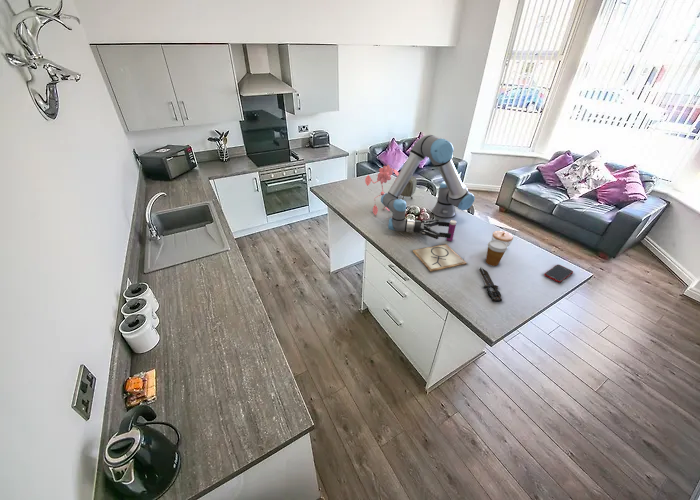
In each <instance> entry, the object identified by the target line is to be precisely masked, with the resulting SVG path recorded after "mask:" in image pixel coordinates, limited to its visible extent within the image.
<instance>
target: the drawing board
mask: <svg viewBox="0 0 700 500" xmlns="http://www.w3.org/2000/svg"><path fill="white" fill-rule="evenodd" d="M412 253H413V254H414V255H415V256H416V258H417V259H418V260H419V261H420V262H421V263H422V265H424V266H425V267H426V269H427V270H428V271H429V272H430V273H432V272H437V271H442V270H446V269H451V268H455V267H460V266H464V265H465V266H466V265H467V264H468V263H467V261H465V260H464V259H463V258H462V257H461V256H460V255H459V254H457V252H455V251H454V250H453V249H452V248H451V247H450V246H449V245H448V244H447V243H445V244H439V245H434V246H428V247H423V248H418V249H413V250H412Z"/></svg>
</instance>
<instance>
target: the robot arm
mask: <svg viewBox="0 0 700 500" xmlns="http://www.w3.org/2000/svg"><path fill="white" fill-rule="evenodd" d="M453 155H454V146H453V143H452V142H451V141H449V140H448V139H445V138H442V137H439V136H435V135H433V134H426V135H423V136H422V137H420V138H418V140H417V141H416V142H414V144H413V145H412V147H411V149H410V150H409V155H408V157H407V159H406V161H405V163H404V164H403V166H402V167H401V169H400V171H399V172H398V173H399V174H398V176H397V175H396V178H395V180H394V181H393V183H392V184H391V186H390V188H389V190H388V192H387V193H385V194H384V195H381V197H380V203H381V204H382V205H383V207H385V208H386V207H387V208H388V209H389V210H390V211H389V212H391V213H392V218H391V217H389V219H388V225H387V226H388V227H387V229H388V230H389V231H395V232H405V233H406V232H407V233H415V234H421V235H422V236H427V237H429V238H433V239H435V240H438V239H439V238H443V239H446V238H450V237H451V233H448V232H441V231H440V232H437V231H435V230H434V229H431V228H433V227H436V226H438V227H446V228H449V224H450V221H449V222H448V221H440V219H437V218H436V219H435V218H434V219H427V220H424V219H423V220H422V221H421V220H417V219H416V220H414V219H407V218H406V212H407V202H406V200H405V199H404V200H402V198H400V196H401V193H402V191H403V190H404V188H405V186H406V185H407V183H408V181H409V180H410V178H411V177H412V176H413V175H414V174H415V172H416V170H417V169H418V167H419V165H420V164H421V162H423V161H424V160H425V159H426V158H428V159H429V161H430V163H431V164H432V166H433V167H435V168H437V170H438V172H439V173H440V176H441V177H442V180H443V181H442V182H440V184H439V187H438V194H437V201H436V203H435V205H434V206H433V208H432V214H433V215H435V216H436V217H438V218H443V219H451V218H454V216H456V208H457V209H458V210H460V211H466V210H468V209H470V208H471V207H472V206H473V204H474V202H475V199H476V197H475V195H474V194H473V193H472V192H470V191H469V188H468V187H467V185H466V184H463V182H462V180H461V178H460V175H459V173H458V170H457V169H456V167H455V164H454V162H453Z"/></svg>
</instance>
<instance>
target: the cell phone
mask: <svg viewBox="0 0 700 500" xmlns="http://www.w3.org/2000/svg"><path fill="white" fill-rule="evenodd" d="M573 273H574V271H573V270H571V269H570V268H568V267H565V266H563V265H561V264H556V265H554V266H553V267H551V268H550V269H549V270H547V271H545V272H544V274H543V275H544V276H545V277H547V278H549V279H550V280H552V281H554V282H556V283H562V282H563V281H564V280H565V279H567V278H568V277H570V276H571V275H572V274H573Z"/></svg>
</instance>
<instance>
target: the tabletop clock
mask: <svg viewBox="0 0 700 500" xmlns="http://www.w3.org/2000/svg"><path fill="white" fill-rule="evenodd" d="M417 181H418V180H417V177H415V176H413V175H412V177H411V178H410V180H409V181H408V183H407V185H406V186H405V188H404V190H403V191H402V193H401V195H400V196H402V198H401V199H402V200H404V201H405V197H406V198H410V199H411V200H413V199H414V197H413V195H414V194H415V193H416V190H417V183H418V182H417Z"/></svg>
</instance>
